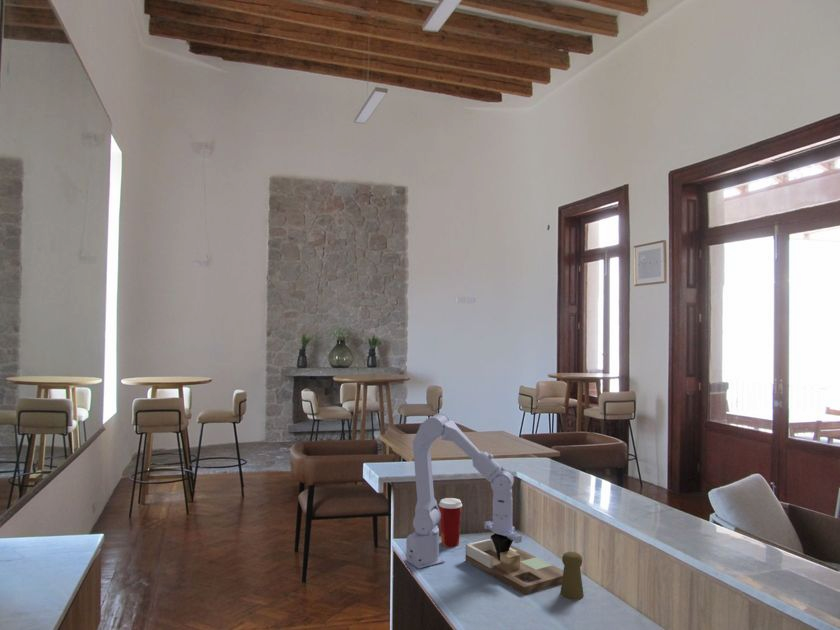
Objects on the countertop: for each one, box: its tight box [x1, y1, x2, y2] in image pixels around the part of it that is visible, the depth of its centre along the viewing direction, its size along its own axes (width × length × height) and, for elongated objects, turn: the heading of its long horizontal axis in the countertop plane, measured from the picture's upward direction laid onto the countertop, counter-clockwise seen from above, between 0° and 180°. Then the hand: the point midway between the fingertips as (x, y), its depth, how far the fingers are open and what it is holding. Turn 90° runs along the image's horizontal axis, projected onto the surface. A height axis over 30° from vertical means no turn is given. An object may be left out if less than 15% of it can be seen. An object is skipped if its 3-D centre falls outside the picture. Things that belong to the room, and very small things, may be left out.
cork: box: [559, 551, 585, 601], centre depth 165 cm, size 6×6×11 cm
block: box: [500, 550, 520, 572], centre depth 177 cm, size 4×4×4 cm
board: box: [465, 544, 564, 595], centre depth 180 cm, size 17×26×2 cm, turn 32°
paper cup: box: [438, 497, 463, 548], centre depth 201 cm, size 8×8×14 cm
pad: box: [520, 556, 552, 570], centre depth 181 cm, size 6×7×2 cm
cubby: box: [465, 538, 517, 568], centre depth 185 cm, size 10×12×3 cm
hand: (502, 560), depth 180 cm, fingers closed
